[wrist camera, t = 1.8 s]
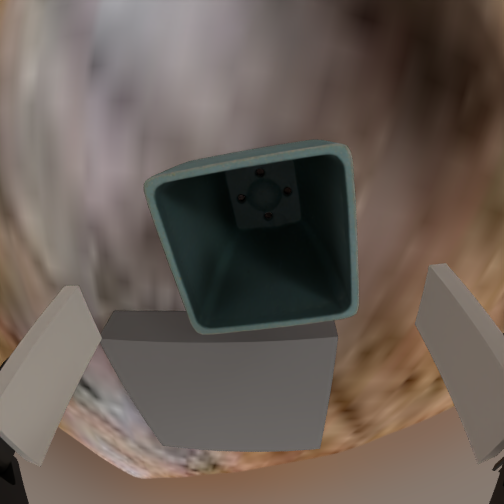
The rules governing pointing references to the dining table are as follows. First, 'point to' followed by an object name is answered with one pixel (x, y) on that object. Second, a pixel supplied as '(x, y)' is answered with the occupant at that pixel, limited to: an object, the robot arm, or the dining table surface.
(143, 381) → the plinth
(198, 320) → the flower pot
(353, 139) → the dining table surface
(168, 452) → the dining table surface
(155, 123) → the dining table surface
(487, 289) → the dining table surface
